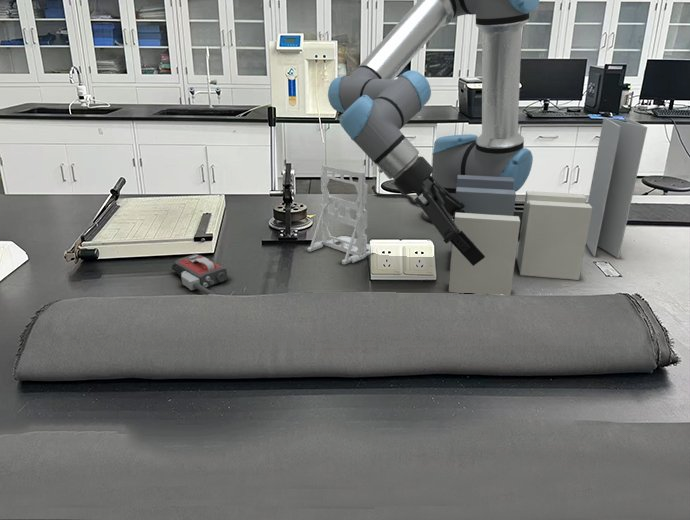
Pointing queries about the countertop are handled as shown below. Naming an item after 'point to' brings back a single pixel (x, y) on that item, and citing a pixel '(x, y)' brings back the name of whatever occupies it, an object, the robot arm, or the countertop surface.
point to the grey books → (486, 195)
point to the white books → (553, 234)
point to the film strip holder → (360, 224)
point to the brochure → (614, 183)
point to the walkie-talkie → (199, 272)
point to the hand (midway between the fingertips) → (478, 248)
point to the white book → (485, 254)
